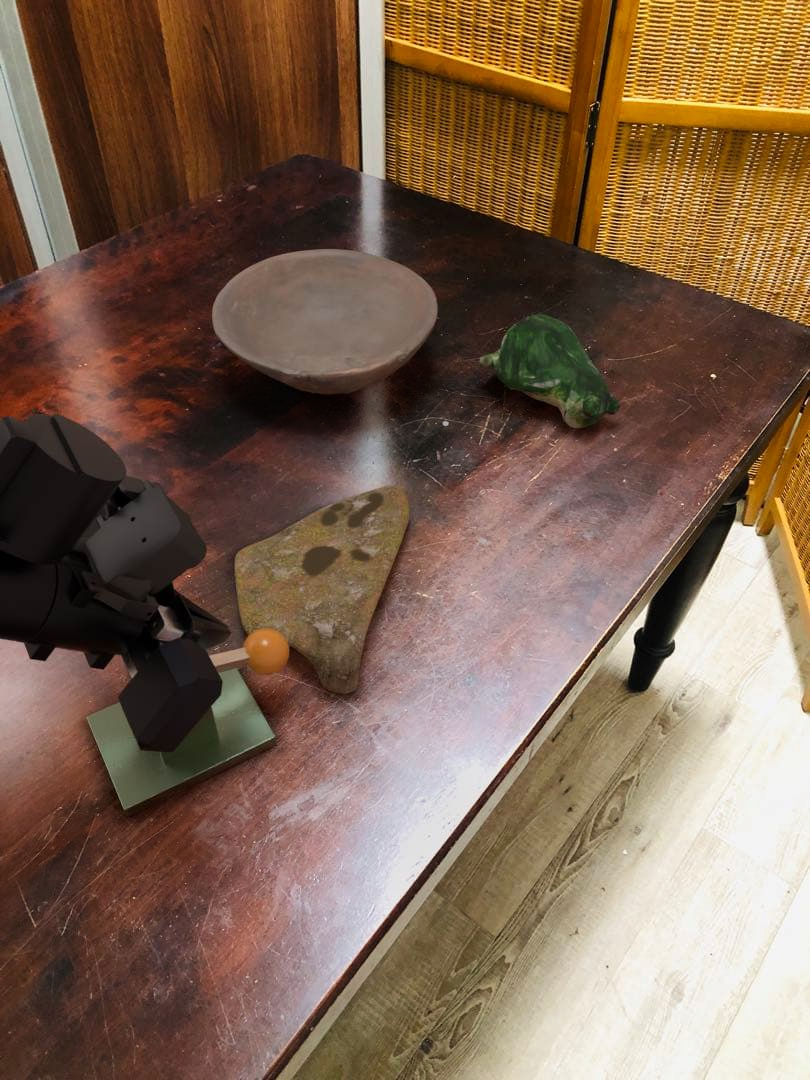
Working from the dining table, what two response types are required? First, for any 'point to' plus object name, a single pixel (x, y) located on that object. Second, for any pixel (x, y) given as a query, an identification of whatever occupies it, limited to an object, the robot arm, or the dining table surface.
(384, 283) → the bowl
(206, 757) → the switch bracket
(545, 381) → the figurine
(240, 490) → the dining table surface
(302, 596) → the decorative stone
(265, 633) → the switch lever
